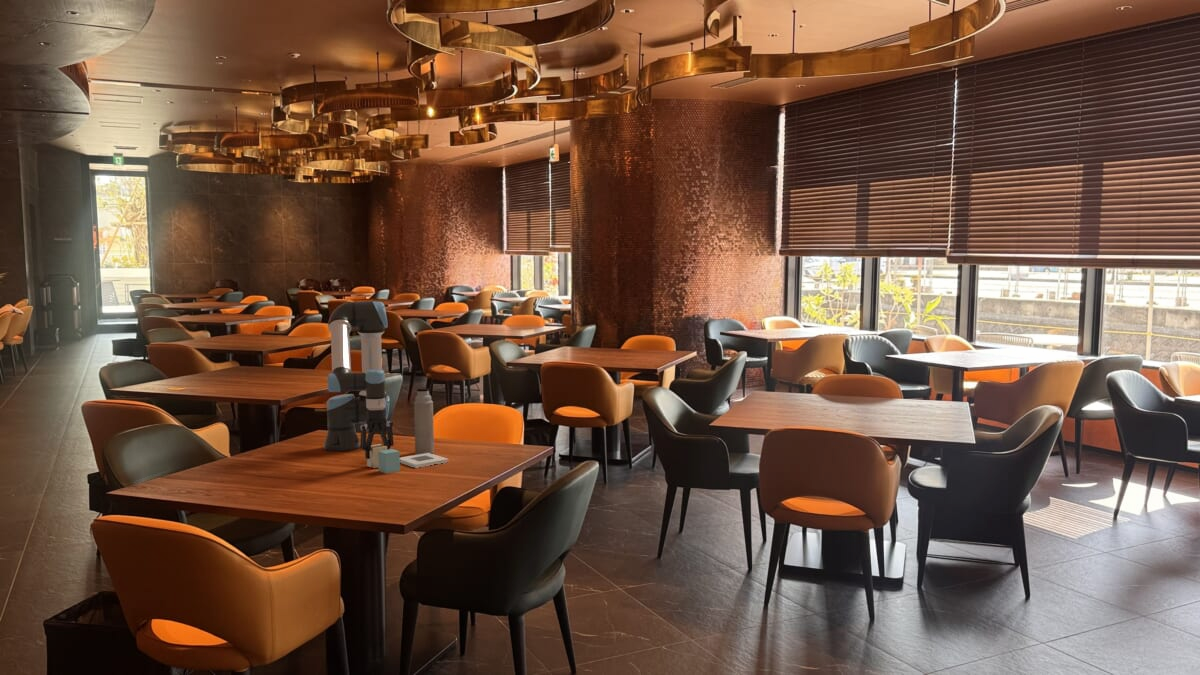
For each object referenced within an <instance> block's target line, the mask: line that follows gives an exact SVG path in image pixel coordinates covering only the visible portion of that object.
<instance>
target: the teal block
mask: <svg viewBox="0 0 1200 675" xmlns="http://www.w3.org/2000/svg"><path fill="white" fill-rule="evenodd" d="M400 454H401V453H400V450H397V449H393V448H389V449H388V450H382V451H378V456H379V468H378V472H381V473H384V474H392V473H397V472H400V471H401V463H400Z"/></svg>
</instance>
